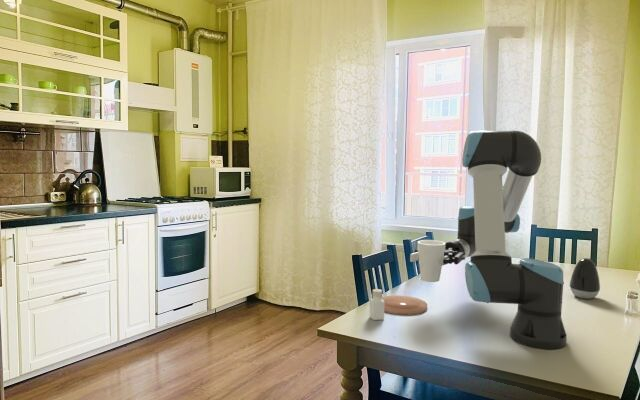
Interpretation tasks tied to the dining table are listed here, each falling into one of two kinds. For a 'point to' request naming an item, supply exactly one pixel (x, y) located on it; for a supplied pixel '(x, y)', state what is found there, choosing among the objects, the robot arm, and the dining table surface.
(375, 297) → the pepper shaker
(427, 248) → the foam cup
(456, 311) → the dining table surface
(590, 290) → the dark grey egg shape
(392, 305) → the terracotta plate
